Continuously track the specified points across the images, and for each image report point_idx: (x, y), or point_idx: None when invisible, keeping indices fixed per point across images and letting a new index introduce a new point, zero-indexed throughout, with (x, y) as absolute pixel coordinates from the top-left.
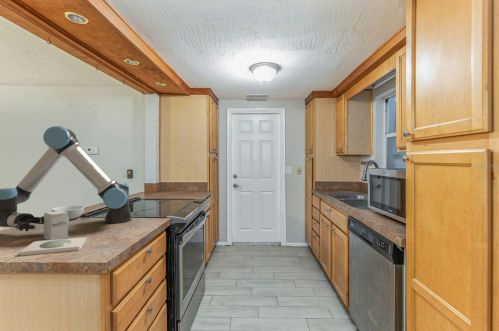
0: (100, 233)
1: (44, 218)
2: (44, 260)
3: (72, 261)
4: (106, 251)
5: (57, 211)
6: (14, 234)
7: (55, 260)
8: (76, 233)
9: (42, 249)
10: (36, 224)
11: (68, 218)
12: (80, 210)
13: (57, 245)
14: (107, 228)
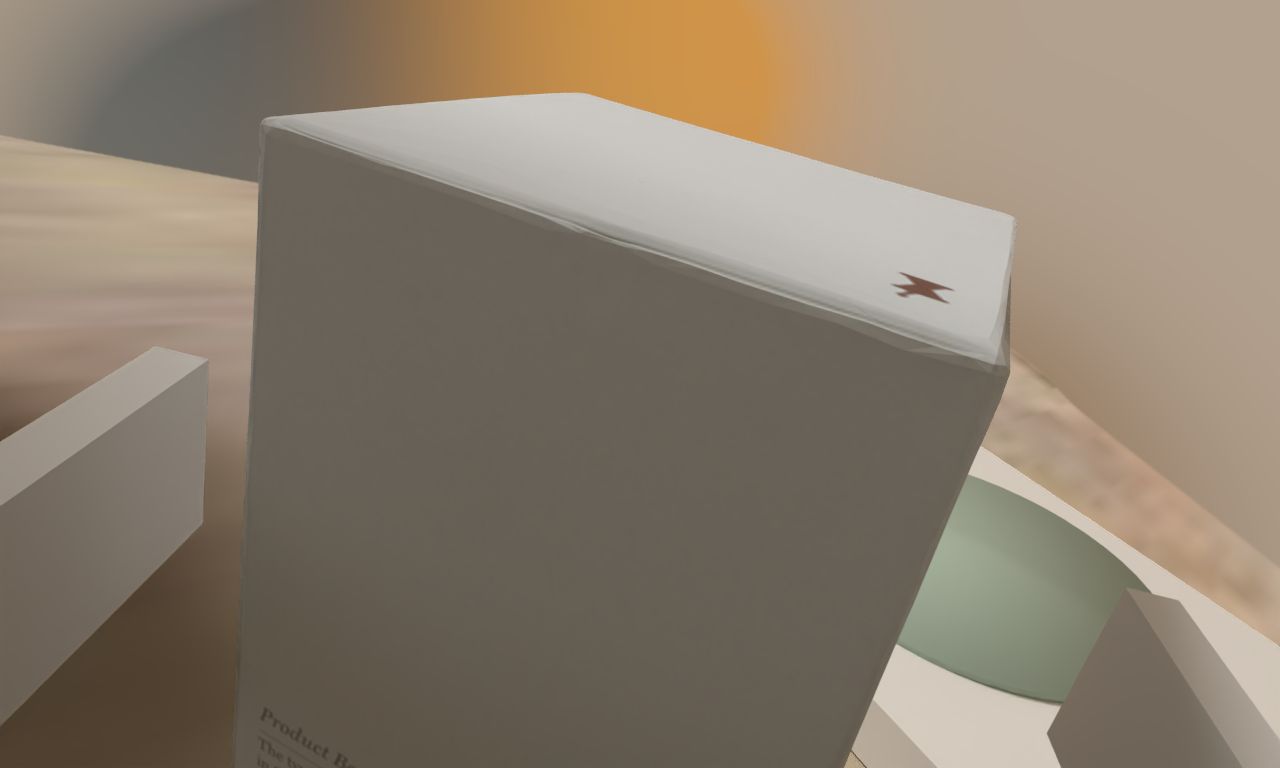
0: None
1: (913, 600)
2: (1210, 530)
3: (1066, 402)
4: None
5: (556, 151)
6: None
7: (1141, 474)
8: (68, 685)
9: (1182, 589)
10: (1261, 722)
11: (176, 367)
12: None
13: (1005, 515)
14: None
